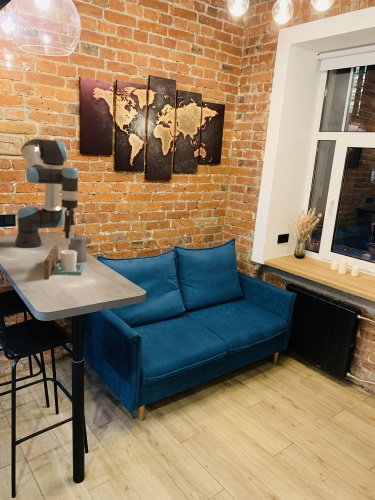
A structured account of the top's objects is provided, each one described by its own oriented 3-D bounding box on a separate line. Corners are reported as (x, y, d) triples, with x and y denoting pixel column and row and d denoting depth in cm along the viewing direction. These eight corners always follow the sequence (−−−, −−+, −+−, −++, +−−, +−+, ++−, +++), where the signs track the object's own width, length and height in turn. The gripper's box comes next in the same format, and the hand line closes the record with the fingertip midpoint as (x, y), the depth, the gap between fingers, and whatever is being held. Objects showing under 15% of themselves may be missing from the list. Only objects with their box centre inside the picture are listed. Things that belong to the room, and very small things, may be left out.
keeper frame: (81, 274, 186) (81, 272, 186) (53, 274, 184) (53, 271, 183) (83, 266, 199) (83, 264, 199) (57, 265, 196) (57, 263, 196)
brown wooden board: (48, 279, 177) (48, 261, 174) (44, 278, 176) (44, 260, 174) (57, 261, 203) (57, 246, 201) (54, 261, 203) (54, 245, 200)
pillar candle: (73, 256, 215) (73, 231, 211) (89, 259, 213) (89, 233, 209) (65, 261, 205) (64, 235, 201) (81, 263, 204) (81, 237, 200)
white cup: (79, 269, 193) (80, 251, 191) (70, 273, 186) (70, 254, 184) (67, 267, 196) (67, 248, 193) (57, 270, 189) (57, 252, 186)
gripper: (74, 203, 171) (73, 247, 177) (80, 196, 194) (79, 235, 200) (57, 202, 169) (57, 247, 175) (65, 195, 193) (64, 234, 199)
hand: (69, 240), depth 188 cm, fingers open, 13 cm apart
